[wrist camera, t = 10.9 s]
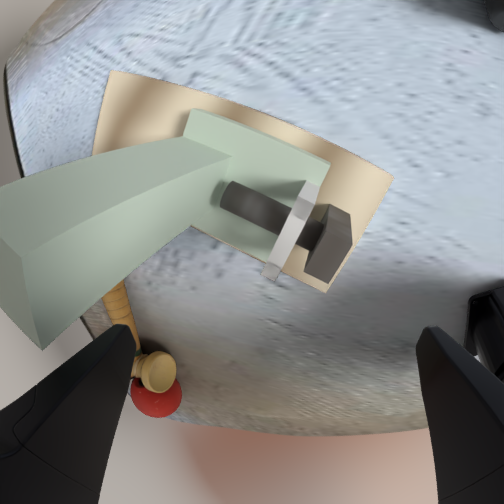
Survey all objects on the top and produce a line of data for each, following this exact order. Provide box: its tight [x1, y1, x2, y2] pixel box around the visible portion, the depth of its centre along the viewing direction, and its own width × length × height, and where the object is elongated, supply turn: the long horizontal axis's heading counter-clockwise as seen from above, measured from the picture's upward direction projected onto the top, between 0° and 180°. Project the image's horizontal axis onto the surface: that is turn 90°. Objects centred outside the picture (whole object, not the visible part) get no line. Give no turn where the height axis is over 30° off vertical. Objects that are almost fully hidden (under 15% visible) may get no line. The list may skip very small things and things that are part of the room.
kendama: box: [102, 279, 182, 418], centre depth 27 cm, size 8×6×18 cm
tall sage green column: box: [0, 108, 331, 351], centre depth 11 cm, size 8×7×14 cm
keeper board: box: [92, 70, 394, 293], centre depth 16 cm, size 21×9×6 cm, turn 69°
